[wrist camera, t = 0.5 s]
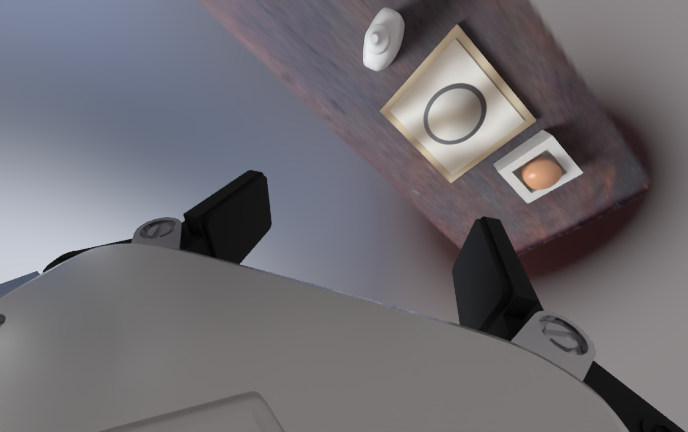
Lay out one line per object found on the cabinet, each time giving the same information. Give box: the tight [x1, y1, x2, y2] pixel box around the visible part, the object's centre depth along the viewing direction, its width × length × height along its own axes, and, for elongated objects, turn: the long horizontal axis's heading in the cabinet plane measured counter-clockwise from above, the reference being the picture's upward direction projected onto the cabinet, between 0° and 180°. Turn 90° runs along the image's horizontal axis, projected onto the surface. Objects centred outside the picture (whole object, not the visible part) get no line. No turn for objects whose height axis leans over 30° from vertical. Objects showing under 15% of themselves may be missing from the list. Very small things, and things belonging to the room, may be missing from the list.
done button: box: [521, 157, 562, 190], centre depth 33 cm, size 4×4×2 cm
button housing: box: [493, 130, 583, 204], centre depth 34 cm, size 7×7×3 cm
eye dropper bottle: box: [363, 8, 405, 71], centre depth 27 cm, size 4×6×12 cm
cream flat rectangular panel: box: [380, 24, 537, 182], centre depth 34 cm, size 16×13×1 cm
